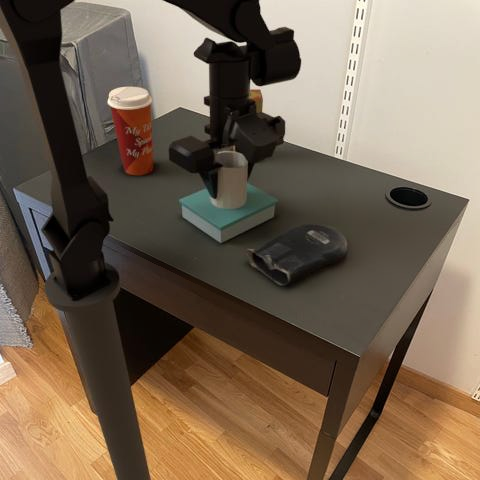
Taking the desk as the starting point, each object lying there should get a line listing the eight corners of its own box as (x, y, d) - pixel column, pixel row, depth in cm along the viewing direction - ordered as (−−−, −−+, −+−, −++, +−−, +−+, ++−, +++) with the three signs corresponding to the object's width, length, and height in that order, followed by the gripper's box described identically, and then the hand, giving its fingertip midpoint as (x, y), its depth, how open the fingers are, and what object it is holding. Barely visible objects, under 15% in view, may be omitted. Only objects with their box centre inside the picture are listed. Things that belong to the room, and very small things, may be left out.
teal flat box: (220, 245, 76) (220, 227, 74) (179, 216, 81) (178, 199, 79) (276, 217, 82) (278, 200, 80) (235, 192, 88) (235, 175, 85)
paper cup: (138, 182, 89) (128, 105, 80) (110, 169, 93) (96, 93, 83) (167, 167, 94) (161, 92, 84) (139, 155, 97) (130, 81, 87)
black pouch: (291, 301, 69) (359, 250, 75) (287, 271, 65) (359, 220, 71) (248, 276, 75) (314, 230, 81) (243, 247, 71) (312, 201, 77)
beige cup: (226, 213, 77) (226, 172, 72) (202, 198, 80) (201, 158, 75) (253, 200, 80) (256, 161, 75) (229, 186, 83) (230, 147, 78)
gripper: (215, 127, 59) (216, 234, 70) (316, 93, 68) (303, 192, 79) (162, 100, 65) (170, 203, 75) (261, 72, 74) (256, 167, 85)
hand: (228, 191), depth 78 cm, fingers closed on beige cup, 6 cm apart
